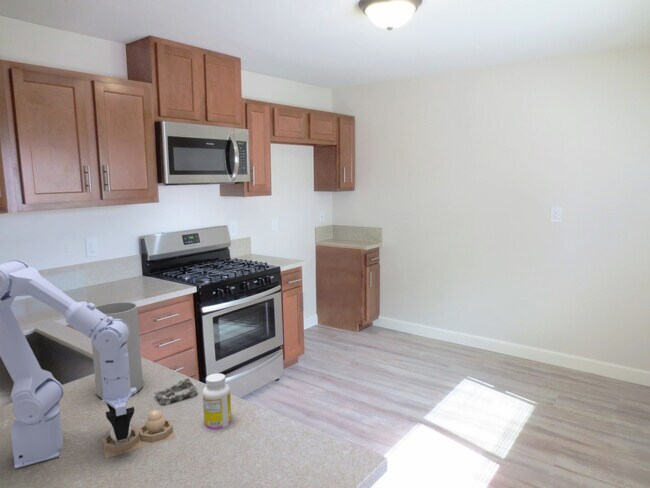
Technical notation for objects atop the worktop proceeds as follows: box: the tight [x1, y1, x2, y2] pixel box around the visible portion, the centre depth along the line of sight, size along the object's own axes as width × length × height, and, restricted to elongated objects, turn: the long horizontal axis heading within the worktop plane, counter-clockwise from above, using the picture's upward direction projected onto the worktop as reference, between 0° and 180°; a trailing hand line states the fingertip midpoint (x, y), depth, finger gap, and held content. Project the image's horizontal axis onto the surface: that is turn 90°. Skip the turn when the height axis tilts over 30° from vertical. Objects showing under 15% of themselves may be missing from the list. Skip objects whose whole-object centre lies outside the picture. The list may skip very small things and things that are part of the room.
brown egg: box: [144, 409, 166, 435], centre depth 105 cm, size 4×4×6 cm
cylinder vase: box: [91, 301, 144, 399], centre depth 128 cm, size 12×12×25 cm
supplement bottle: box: [202, 373, 233, 430], centre depth 109 cm, size 7×7×13 cm
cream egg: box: [109, 425, 132, 445], centre depth 101 cm, size 4×4×6 cm
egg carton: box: [153, 377, 198, 406], centre depth 124 cm, size 11×8×4 cm
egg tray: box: [101, 418, 177, 459], centre depth 104 cm, size 15×9×2 cm, turn 120°
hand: (120, 430), depth 101 cm, fingers open, 7 cm apart
